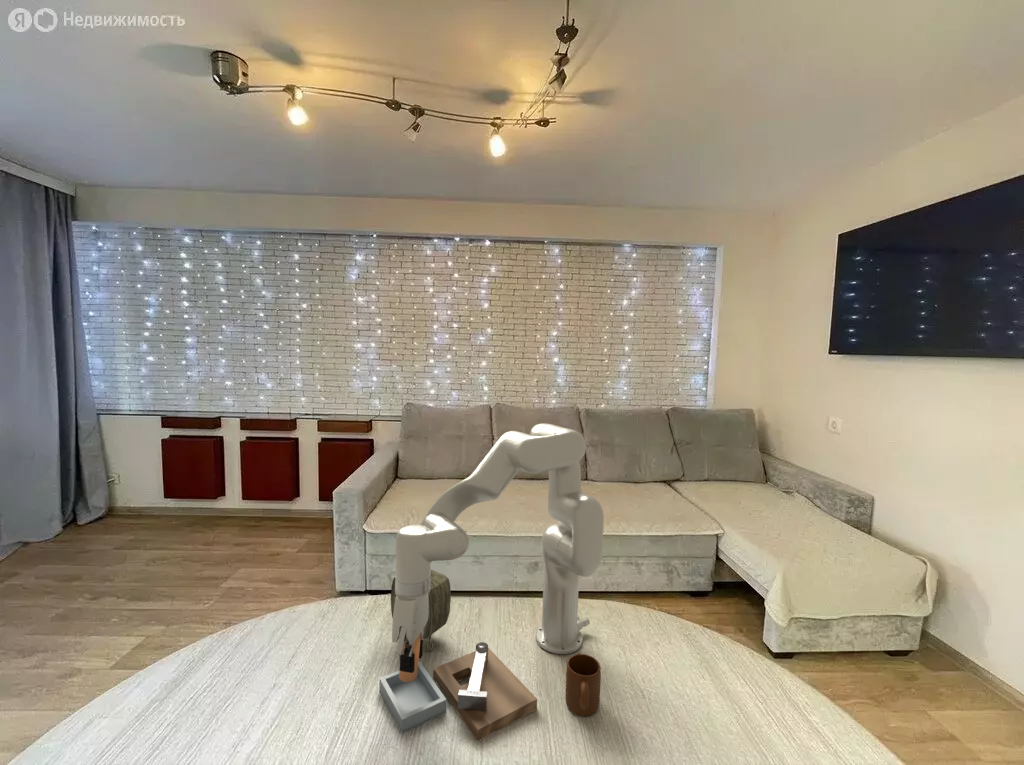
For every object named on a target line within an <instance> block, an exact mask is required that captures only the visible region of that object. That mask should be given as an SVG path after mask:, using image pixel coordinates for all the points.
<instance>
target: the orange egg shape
mask: <svg viewBox="0 0 1024 765" xmlns="http://www.w3.org/2000/svg"><path fill="white" fill-rule="evenodd" d="M406 639H407V638H406ZM420 639H421V636H420V635H419V636H418V638H417V639H416V641H415V642H414V649H413V654H415V670H414V672H413V673H409V672H403V671H400V669H399V670H398V671H399V679H400V680H401V681H403V682H412V681H414V680H415V679H416V678H417V674H418V663H419V662H420V661H419V660H420V659H419V651H420ZM421 640H422V639H421ZM409 647H410V645H409V644H405V648H408V649H409Z"/></svg>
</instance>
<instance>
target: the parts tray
mask: <svg viewBox="0 0 1024 765" xmlns="http://www.w3.org/2000/svg"><path fill="white" fill-rule="evenodd" d="M378 687H379V688H378V689H379V693H380V695H381V696H382V698H383V701H384V702H385V704H386V705H387V706H386V707H387V708H388V710H389V711H390V713H391V715H392V718H393V719H394V721H395V723H396V725H397V727H398V730H399V731H400V733H401V734H404V733H406V732H409V731H410V730H412V729H414V728H417V727H419V726H421V725H423V724H425V723H427V722H429V721H432V720H434V719H435V718H438V717H440V716H442V715H444V714H446V713H447V700H448V699H447V697H446V696H445V694H444V693H443V691H442V690H441V689H440V687H439V686H438V684H437V683H436V681H435V680H434V679H433V677H431V674H429V673H428V671H427V669H426V668H425V666H424V665H423V663H422V662H421V661H419V662H418V674H417V678H416V679H415V680H414V681H412V682H403V681H401V680H400V679H399V670H397V671H394V672H392V673H389V674H386V675H384V676H382V677H379V686H378Z"/></svg>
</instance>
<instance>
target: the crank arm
mask: <svg viewBox="0 0 1024 765" xmlns="http://www.w3.org/2000/svg"><path fill="white" fill-rule="evenodd" d="M488 648H489V645H488V643H487V642H483V641H482V642H478V643H476V644H475V651H476V655H475V660H474V664H473V669H472V673H471V678H469V682H468V683H469V687H468V690H459V693H458V708H460V709H472V710H485V711H486V708H487V692H484V691H481V689H482V683H483V678H484V672H485V666H486V662H487V661H488Z"/></svg>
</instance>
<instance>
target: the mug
mask: <svg viewBox="0 0 1024 765" xmlns="http://www.w3.org/2000/svg"><path fill="white" fill-rule="evenodd" d="M600 664H601V663H600V662H599V661H598V660H597V659H596V658H595V657H593V656H591V655H589V654H584V653H579V654H578V653H577V654H574V655H572V656H570V657H569V658H568V659H567V663H566V670H565V694H564V695H565V705H566V706H567V708H568V710H569V711H570V712H571V713H573V714H574V715H576V716H580V717H591V716H593V715H596V713H597V712H598V711H599V708H600V703H601V702H600V701H601V684H602V683H601V680H602V677H601V676H602V674H601V672H602V671H601V669H602V668H601V665H600Z"/></svg>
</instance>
